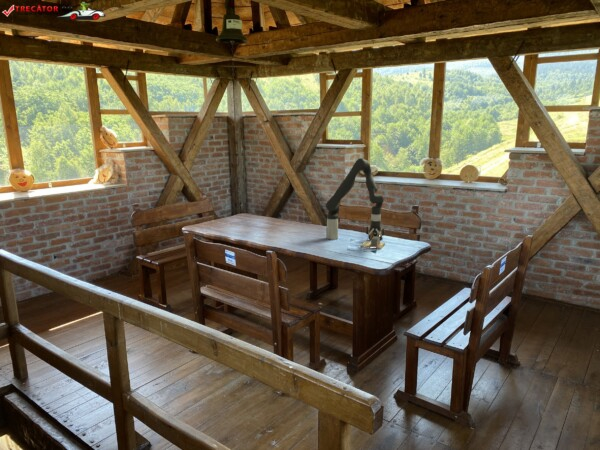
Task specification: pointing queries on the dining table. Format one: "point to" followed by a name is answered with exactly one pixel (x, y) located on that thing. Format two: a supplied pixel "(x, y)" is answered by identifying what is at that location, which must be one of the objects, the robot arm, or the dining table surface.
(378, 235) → the multimeter
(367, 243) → the board
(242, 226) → the dining table surface
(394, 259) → the dining table surface
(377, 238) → the block
